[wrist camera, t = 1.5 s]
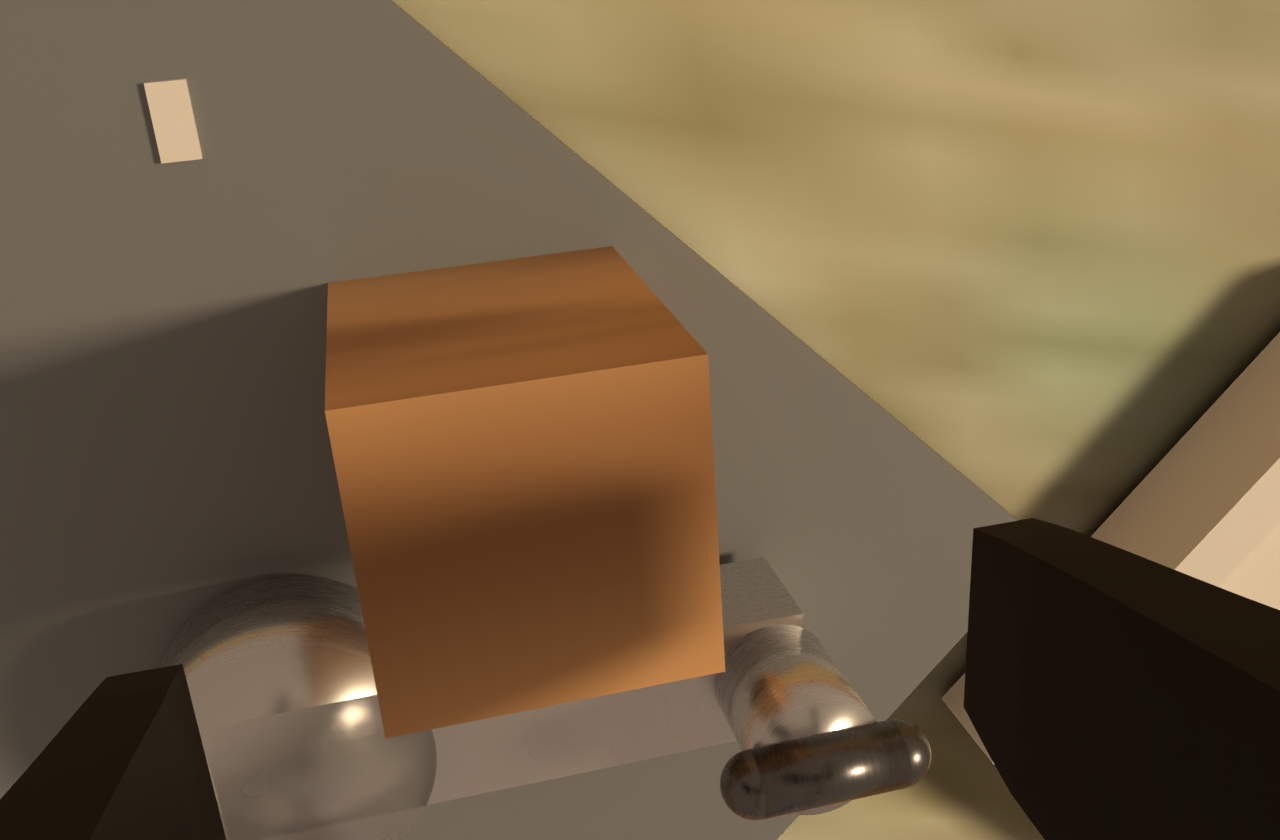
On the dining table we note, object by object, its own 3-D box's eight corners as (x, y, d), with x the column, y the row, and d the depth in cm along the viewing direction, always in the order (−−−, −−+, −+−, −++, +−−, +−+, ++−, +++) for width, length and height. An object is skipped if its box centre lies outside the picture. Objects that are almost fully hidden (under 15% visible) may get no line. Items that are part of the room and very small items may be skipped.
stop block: (632, 497, 19) (725, 670, 15) (373, 540, 18) (385, 737, 14) (612, 245, 18) (708, 354, 13) (327, 282, 17) (325, 411, 12)
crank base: (411, 1186, 25) (414, 1239, 24) (-612, 815, 18) (-669, 869, 17) (1017, 520, 22) (1050, 548, 21) (110, -234, 15) (94, -246, 14)
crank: (187, 824, 19) (145, 1074, 15) (128, 602, 18) (61, 812, 13) (819, 695, 21) (939, 885, 17) (815, 485, 20) (946, 637, 15)
